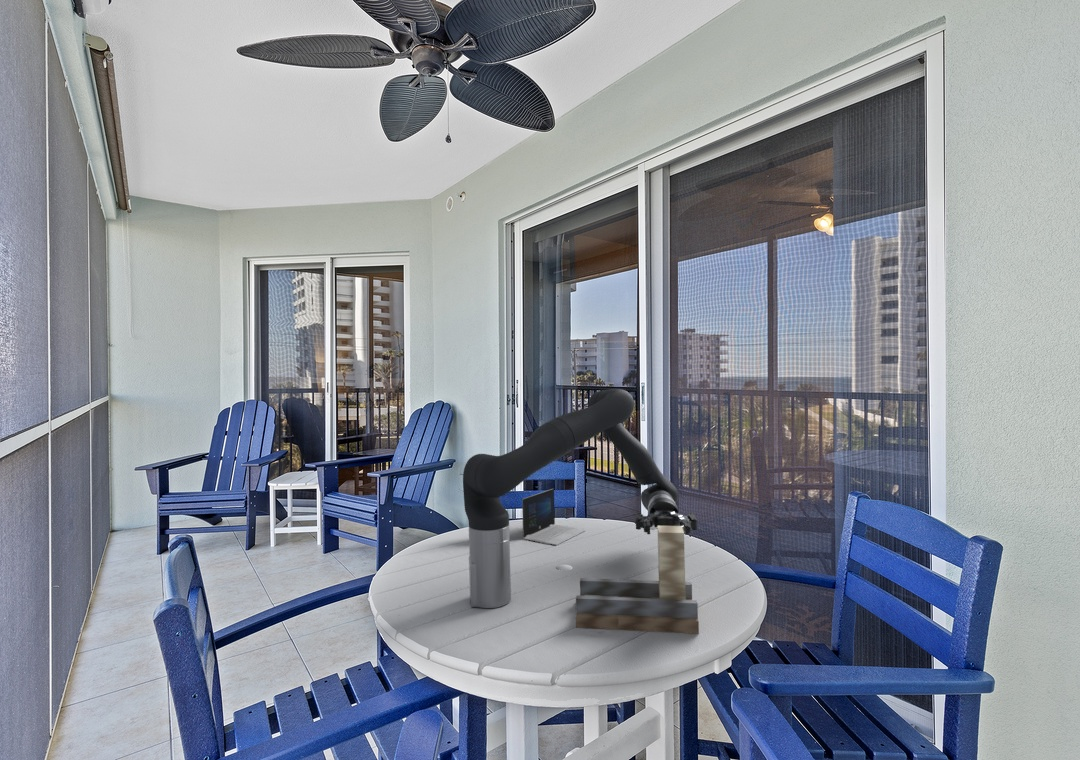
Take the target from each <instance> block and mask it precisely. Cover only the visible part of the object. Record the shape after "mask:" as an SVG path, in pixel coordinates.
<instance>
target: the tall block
mask: <svg viewBox="0 0 1080 760" xmlns="http://www.w3.org/2000/svg"><path fill="white" fill-rule="evenodd" d="M685 553H686V552H685V532H684V530H683V529H682V526H678V525H677V526H658V529H657V562H658V565H657V568H658V581H659V599H676V600H686V597H685V582H686V565H685V563H686V562H685V561H686V559H685V557H686V556H685Z"/></svg>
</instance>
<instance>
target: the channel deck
mask: <svg viewBox="0 0 1080 760" xmlns="http://www.w3.org/2000/svg"><path fill="white" fill-rule="evenodd" d="M579 588H580V589H579V593H580V594H579V595H575V596H576V597H575V612H576V613H575V628H579V629H580V628H581V629H599V630H617V631H619V630H620V631H635V632H636V631H639V632H656V633H657V632H659V633H677V634H678V633H679V634H694V635H695V634H697V635H699V634H700V632H699V629H700V628H699V625H700V624H699V609H698V605H699V604H698V601H697V600H696V599H693V585H692V582H691V581H685V597H686V600H676V599H659V580H642V579H616V578H615V579H614V578H612V579H611V578H610V579H609V578H588V577H587V578H586V577H581V578H579Z"/></svg>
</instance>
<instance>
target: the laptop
mask: <svg viewBox="0 0 1080 760" xmlns="http://www.w3.org/2000/svg"><path fill="white" fill-rule="evenodd" d="M521 507H522V509H521V510H522V517H521V518H522V538H523V540H524V539H526V540H525V541H527V540H530V541H535V543H538V542H540V543H539V544H545V545H551V544H552V546H558V545H560V544H562V543H564V542H565V541H568V540H569V539H571V538H574V537H576V536H577V535H580V534H582V533H584V532H585V531H586V529H584V528H578V527H574V526H573V527H572V526H566V525H562V524H561V525H560V524H556V523H555V522H556V521H555V520H556V519H555V489H554V488H551V489H548V490H547V489H546V490H545V491H542V492H538V493H536V494H535V493H534V494H533V495H530V496H527V497H524V498H522V499H521Z"/></svg>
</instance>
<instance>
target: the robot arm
mask: <svg viewBox="0 0 1080 760" xmlns="http://www.w3.org/2000/svg"><path fill="white" fill-rule="evenodd" d="M634 408H635V400H634V398H633V395H632V394H631V393H630V392H628V391H627V390H625V389H622V388H611V389H603V390H598V391H596V392H594V393H592V394H591V396H590V397H589V401H588V407H584V408H582V409H578V410H573V411H571V412H567V413H565V414H564V413H563V414H561V415H559V416H556V417H554V418H552V419H551V420H549V421H546V422H545V423H543V424H541V425H540V426H538V427H537V428H536V429H535V430H534V431H533V432H532V433H531V434H530V436H529V438H527V441H526V442H525V443H524V444H522V445H521V446H519V447H517V448H515V449H513V450H511V451H509V452H506V453H505V454H502V455H494V454H493V455H492V454H487V453H477V454H474V455H472V456H471V457H469V459H467V461H466V462H465V465H464V468H463V472H462V489H463V503H464V505H463V506H464V512H465V515H466V517H467V521H468V544H469V545H468V546H469V547H468V549H469V550H468V551H469V556H468V572H469V573H468V575H469V577H468V578H469V579H468V580H469V598H470V606H471V608H482V609H494V608H499V607H503V606H505V605H508V603H510V602H511V600H512V585H511V584H512V583H511V580H512V579H511V578H512V576H511V545H510V544H511V542H510V541H511V540H510V515H509V512H508V510H507V509H506V508H505V506H503V504H502V501H501V499H500V497H504V496H505V495H506V494H508V493H509V492H511V491H512V490H513V489H515V488H516V487H518V486H519V485H520V484H521V483H523V482H524V481H525V480H527V479H528V478H529V477H530V476H532V475H533V474H535V473H536V472H538V471H540V470H542V469H543V468H544V467H546V466H548V465H550V464H552V463H553V462H555V461H557V460H559V459H560V458H562V457H564V456H566V455H568V454H569V453H571V452H572V451H573V450H575V449H576V448H578V447H580V446H581V445H583V444H585V443H586V442H587V441H589V440H591V439H592V438H594V437H596V435H598V434H600V433H602V432H603V433H604V434H605V435H606V437H608V439H609V441H611V443H612V444H613V445H614V447H615V448H616V450H617V451H618V452H619V454H620V455H621V457H622V458H623V459H624V461H625V462H626V465H627V466H628V467H629V470H630V471H631V473H632V475H633V476H634V478H635V480H636V482H637V484H639V485H641V486H648V485H651V486H649V487H646V488H645V489H644V490H643V491H642V492H641V493H640V502H641V504H642V506H643V507H644V508H645V509H646V511H647V515H644V514H643V513H642V512H636V514H635V529H636V530H642V529H643V533H646V534H647V535H651V531H655V530H658V526H682V529H683V531H684V536H688V535H689V534H690V533H692V530H693V531H697V530H698V518H696V515H695V514H694V513H692V512H689V513H688V514H686V515H683V514H681V513H680V511H679V508H678V505H677V504H676V503H677V502H678V500H679V495H680V494H679V492H678V489H677V487H676V486H675V485H674V483H672V481H670V480H669V479H668V478H667V477H666V476H665V475H664V474H663V473H662V472H661V470H660V469H659V467H658V466H657V464H656V462H655V460H654V458H653V456H652V455H651V453H650V452H649V451H648V448H646V447H645V445H643V444H642V442H640V441H639V439H637V438H636V437H635V436H633V434H631V433H630V432H629V431H628V429H627V428H625V426H624V424H623V422H626V421H627V420H628V419H629V418H630V417H631V416H632V414H633V411H634Z"/></svg>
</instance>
